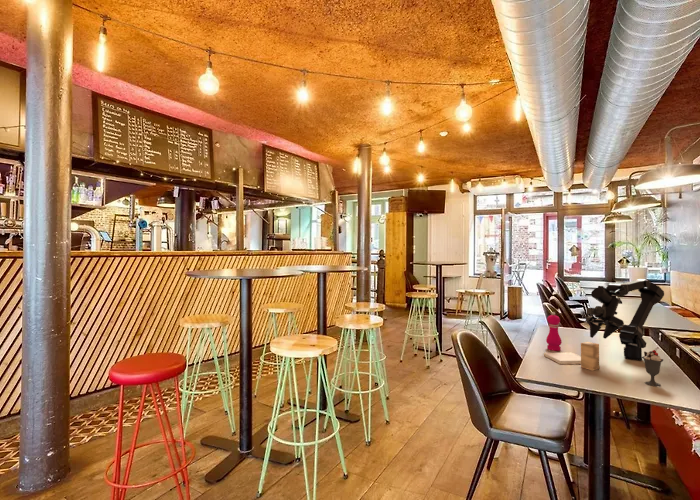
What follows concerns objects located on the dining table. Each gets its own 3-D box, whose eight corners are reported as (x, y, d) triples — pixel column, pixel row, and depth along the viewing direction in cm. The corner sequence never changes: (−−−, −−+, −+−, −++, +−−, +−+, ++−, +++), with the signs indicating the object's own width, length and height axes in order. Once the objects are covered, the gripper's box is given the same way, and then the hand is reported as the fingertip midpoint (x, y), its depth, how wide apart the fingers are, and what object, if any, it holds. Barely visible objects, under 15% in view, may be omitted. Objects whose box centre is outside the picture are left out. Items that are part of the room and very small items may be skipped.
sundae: (665, 388, 140) (665, 349, 140) (643, 385, 144) (642, 346, 144) (662, 383, 146) (661, 345, 146) (640, 380, 149) (640, 343, 150)
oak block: (588, 365, 169) (587, 341, 169) (599, 368, 165) (598, 344, 165) (581, 367, 167) (580, 342, 167) (592, 370, 163) (592, 345, 163)
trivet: (571, 355, 186) (571, 352, 186) (590, 363, 172) (589, 360, 172) (544, 355, 186) (544, 352, 186) (560, 364, 172) (560, 360, 172)
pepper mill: (563, 351, 193) (563, 313, 194) (548, 350, 195) (548, 313, 195) (558, 348, 201) (558, 311, 201) (544, 347, 202) (544, 310, 202)
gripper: (581, 301, 185) (569, 329, 183) (606, 298, 167) (594, 330, 164) (602, 311, 184) (591, 339, 182) (629, 310, 166) (618, 342, 163)
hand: (597, 337), depth 173 cm, fingers open, 9 cm apart
